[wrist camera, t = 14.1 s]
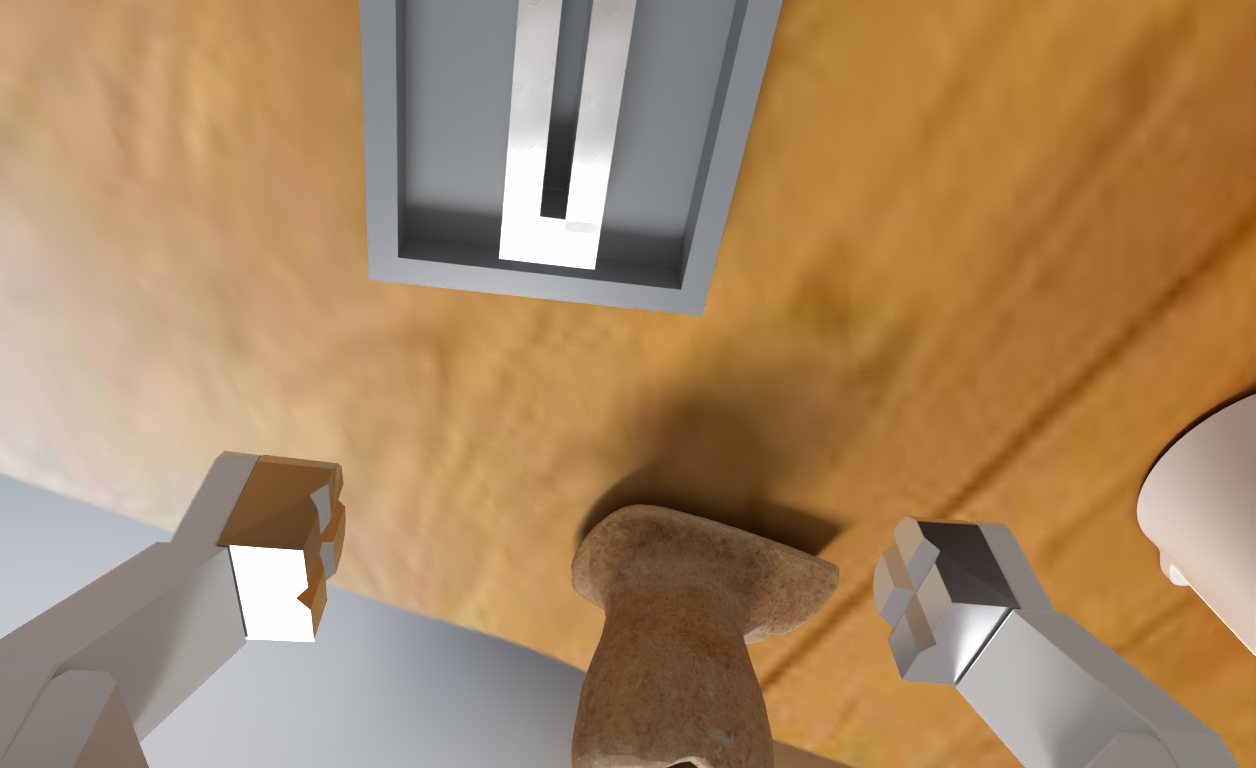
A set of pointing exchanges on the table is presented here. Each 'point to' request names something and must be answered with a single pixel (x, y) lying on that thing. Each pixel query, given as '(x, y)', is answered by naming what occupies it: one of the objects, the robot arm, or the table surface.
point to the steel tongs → (571, 212)
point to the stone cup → (684, 638)
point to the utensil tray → (557, 145)
